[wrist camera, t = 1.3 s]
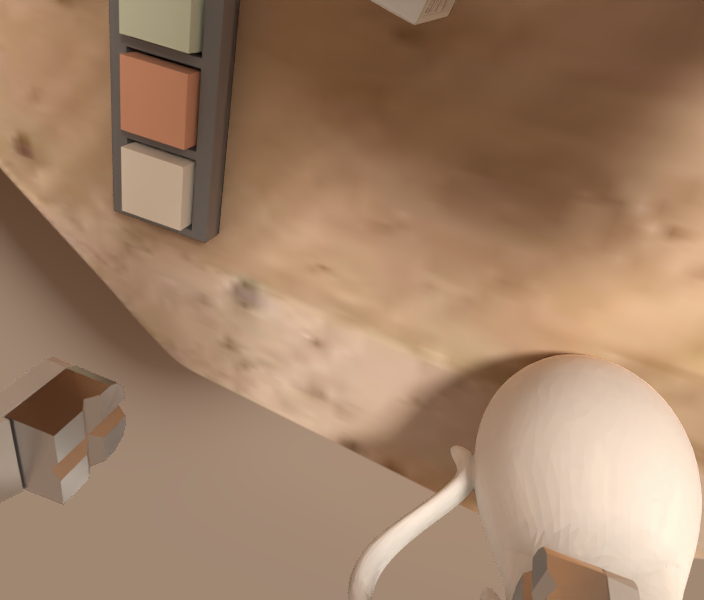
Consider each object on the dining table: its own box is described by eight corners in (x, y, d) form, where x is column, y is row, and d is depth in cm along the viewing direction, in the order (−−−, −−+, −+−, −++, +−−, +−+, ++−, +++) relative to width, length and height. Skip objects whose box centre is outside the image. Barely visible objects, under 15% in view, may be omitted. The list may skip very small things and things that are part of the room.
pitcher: (693, 336, 47) (839, 675, 23) (653, 481, 55) (733, 841, 31) (415, 309, 54) (315, 550, 30) (416, 441, 61) (337, 713, 38)
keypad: (128, -78, 45) (106, -81, 42) (244, -47, 43) (228, -49, 41) (130, 202, 58) (113, 210, 56) (218, 233, 56) (205, 243, 54)
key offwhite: (136, 141, 52) (121, 146, 50) (196, 161, 51) (183, 167, 49) (136, 203, 55) (121, 210, 54) (192, 223, 54) (180, 230, 53)
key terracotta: (136, 51, 48) (119, 53, 46) (201, 71, 47) (187, 74, 45) (136, 124, 51) (120, 129, 49) (197, 144, 50) (184, 150, 48)
